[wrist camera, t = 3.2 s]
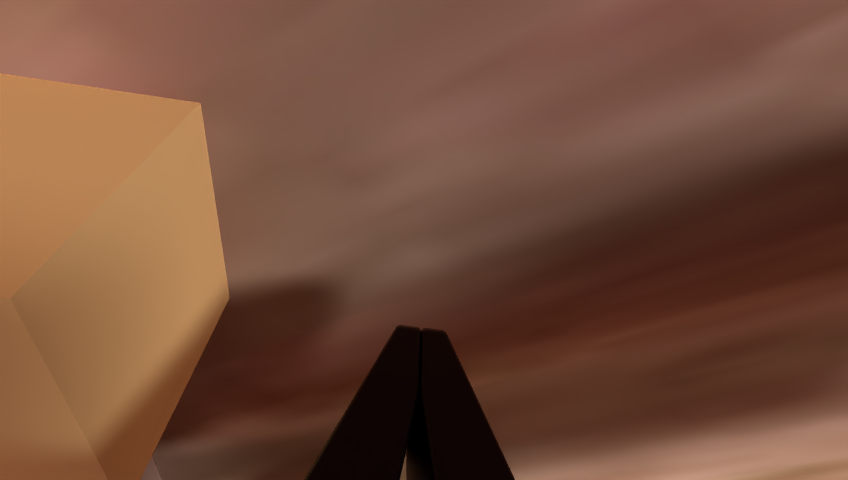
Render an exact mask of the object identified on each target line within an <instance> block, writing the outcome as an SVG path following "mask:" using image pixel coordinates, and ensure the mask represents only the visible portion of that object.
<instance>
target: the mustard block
mask: <svg viewBox="0 0 848 480" xmlns="http://www.w3.org/2000/svg"><path fill="white" fill-rule="evenodd" d="M229 298H230V297H229V291H228V284H227V277H226V271H225V264H224V257H223V251H222V244H221V237H220V230H219V224H218V217H217V210H216V204H215V197H214V190H213V184H212V177H211V170H210V163H209V157H208V150H207V143H206V137H205V130H204V123H203V117H202V110H201V103H196V102H189V101H183V100H176V99H169V98H162V97H156V96H149V95H142V94H136V93H129V92H122V91H115V90H109V89H102V88H95V87H88V86H82V85H75V84H68V83H62V82H55V81H48V80H41V79H35V78H28V77H21V76H14V75H8V74H1V73H0V480H140V479H141V477H142V475H143V473H144V471H145V469H146V467H147V465H148V463H149V461H150V459H151V457H152V455H153V452H154V450H155V448H156V446H157V444H158V442H159V440H160V438H161V436H162V434H163V432H164V430H165V428H166V426H167V424H168V422H169V420H170V418H171V416H172V414H173V412H174V410H175V408H176V406H177V404H178V402H179V400H180V398H181V396H182V394H183V392H184V390H185V387H186V385H187V383H188V381H189V379H190V377H191V375H192V373H193V371H194V369H195V367H196V365H197V363H198V361H199V359H200V357H201V355H202V353H203V351H204V349H205V347H206V345H207V343H208V341H209V339H210V337H211V335H212V333H213V331H214V329H215V327H216V325H217V322H218V320H219V318H220V316H221V314H222V312H223V310H224V308H225V306H226V304H227V302H228V300H229Z"/></svg>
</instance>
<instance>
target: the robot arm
mask: <svg viewBox="0 0 848 480" xmlns="http://www.w3.org/2000/svg"><path fill="white" fill-rule="evenodd" d="M405 454H406V480H515V479H514V476H513V474H512V472H511V470H510V468H509V466H508V464H507V462H506V459H505V457H504V455H503V453H502V451H501V449H500V447H499V444H498V442H497V440H496V438H495V436H494V434H493V432H492V429H491V427H490V425H489V423H488V421H487V419H486V417H485V414H484V412H483V410H482V408H481V406H480V404H479V402H478V400H477V397H476V395H475V393H474V391H473V389H472V387H471V385H470V382H469V380H468V378H467V376H466V374H465V372H464V370H463V367H462V365H461V363H460V361H459V359H458V357H457V355H456V352H455V350H454V348H453V346H452V344H451V342H450V340H449V338H448V335H447V334H446V332H444V331H443V330H437V329H429V328H424V329H422V330H420V329H419V328H418V327H412V326H404V325H399V326H397V327H396V328H395V330H394V331H393V333H392V335H391V336H390V338H389V340H388V341H387V343H386V345H385V346H384V348H383V350H382V351H381V353H380V355H379V356H378V358H377V360H376V361H375V363H374V365H373V366H372V368H371V370H370V371H369V373H368V375H367V376H366V378H365V380H364V381H363V383H362V385H361V386H360V388H359V390H358V391H357V393H356V395H355V396H354V398H353V400H352V401H351V403H350V405H349V406H348V408H347V410H346V411H345V413H344V415H343V416H342V418H341V420H340V421H339V423H338V425H337V426H336V428H335V430H334V431H333V433H332V435H331V436H330V438H329V439H328V441H327V443H326V444H325V446H324V448H323V449H322V451H321V453H320V454H319V456H318V458H317V459H316V461H315V463H314V464H313V466H312V468H311V469H310V471H309V473H308V474H307V476H306V478H305V479H304V480H400V477H401V473H402V468H403V464H404V459H405Z"/></svg>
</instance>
